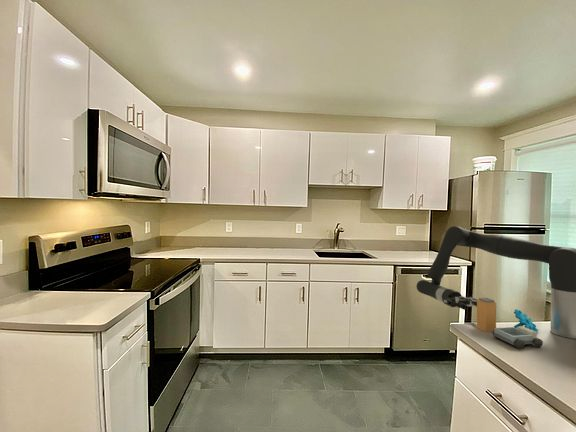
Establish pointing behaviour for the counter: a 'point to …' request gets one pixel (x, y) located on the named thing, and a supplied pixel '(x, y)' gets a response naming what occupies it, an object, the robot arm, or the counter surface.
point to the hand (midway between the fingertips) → (474, 307)
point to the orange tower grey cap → (486, 314)
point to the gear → (524, 321)
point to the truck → (518, 336)
